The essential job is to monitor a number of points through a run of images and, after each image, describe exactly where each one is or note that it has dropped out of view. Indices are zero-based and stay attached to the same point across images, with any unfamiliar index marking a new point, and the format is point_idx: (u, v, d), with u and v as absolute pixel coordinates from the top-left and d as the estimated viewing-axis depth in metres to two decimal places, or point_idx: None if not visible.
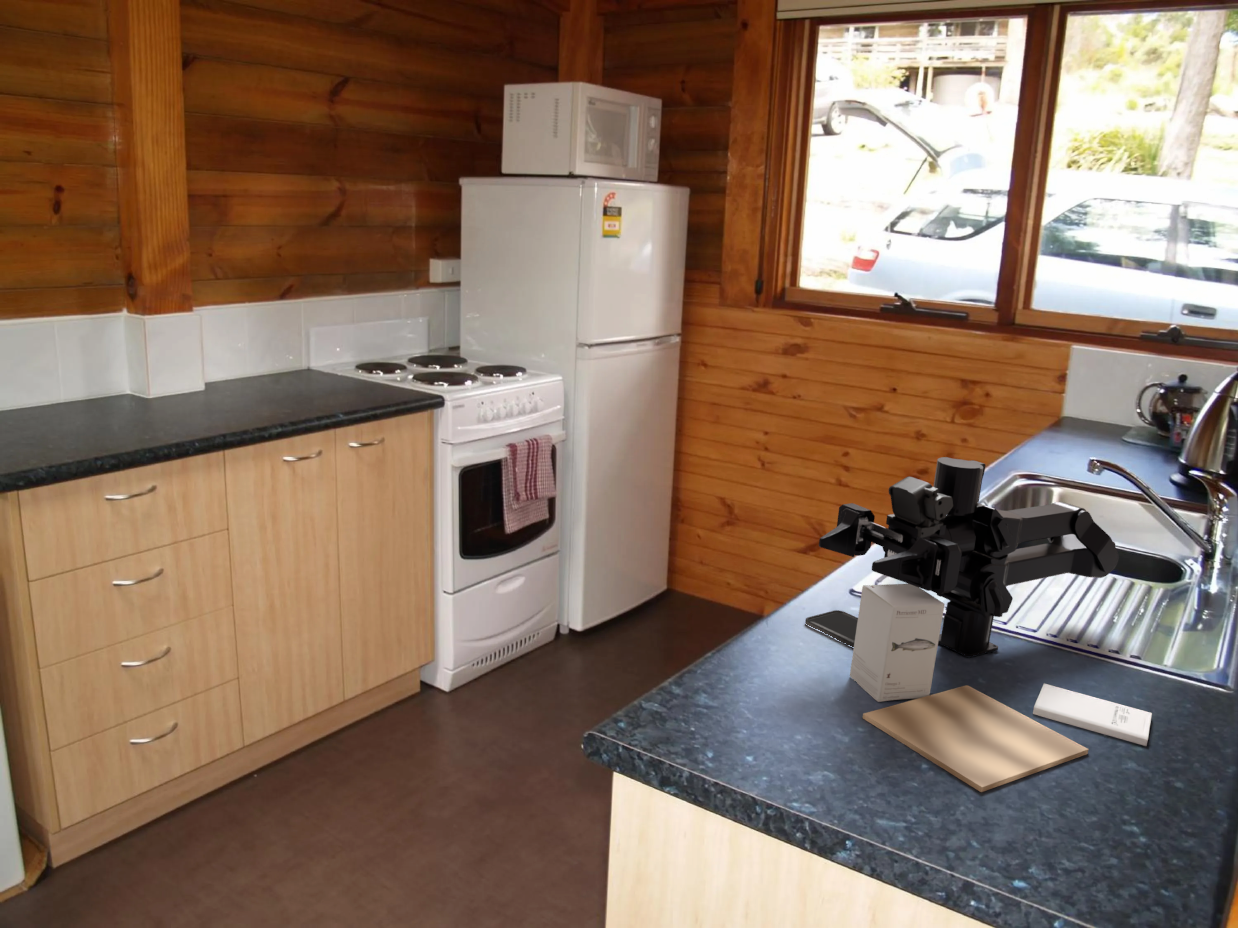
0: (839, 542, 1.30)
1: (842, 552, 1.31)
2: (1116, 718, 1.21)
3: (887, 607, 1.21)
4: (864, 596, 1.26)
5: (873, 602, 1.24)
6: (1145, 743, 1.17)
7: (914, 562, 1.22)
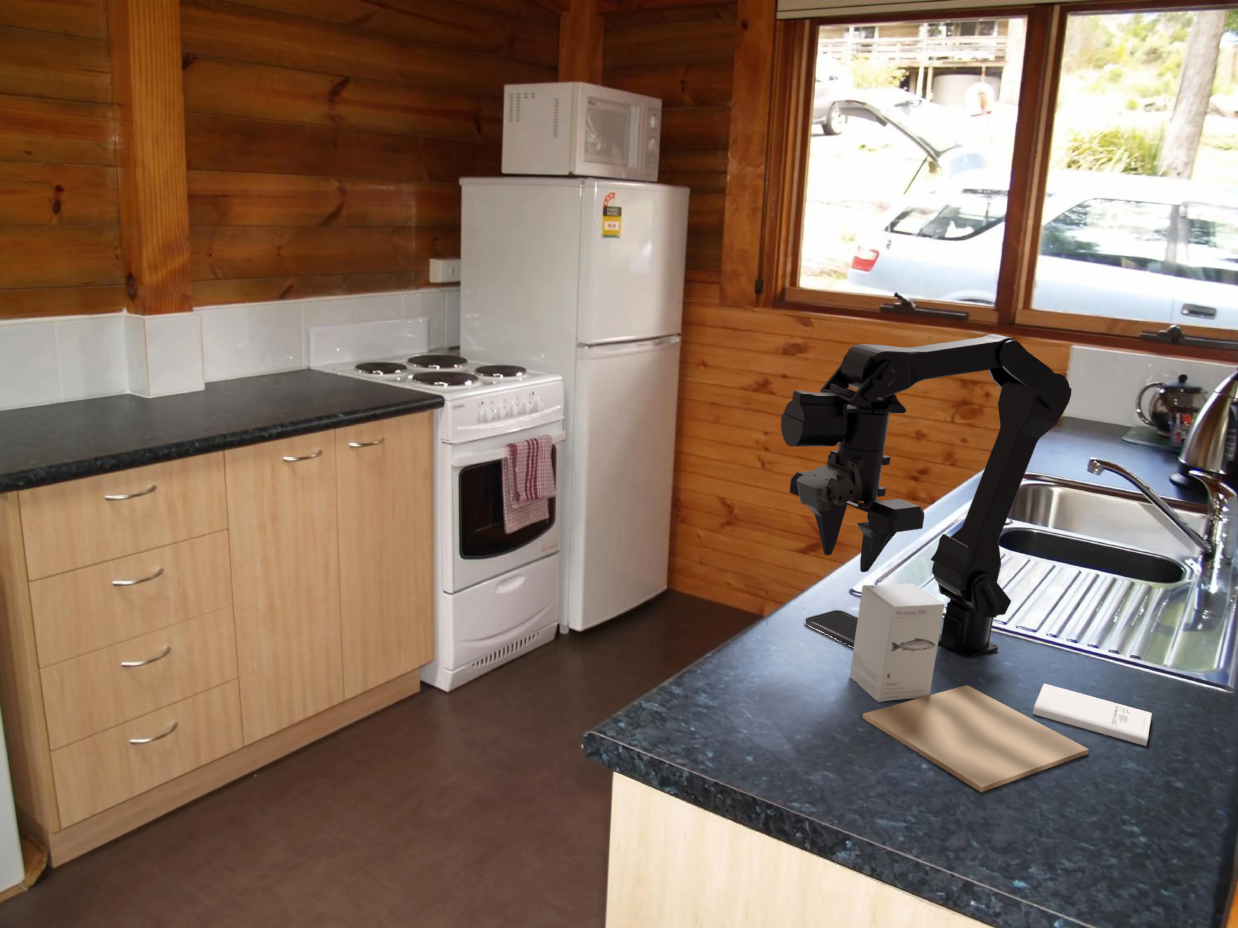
0: (833, 529, 1.34)
1: (841, 521, 1.35)
2: (1116, 718, 1.21)
3: (887, 607, 1.21)
4: (864, 596, 1.26)
5: (873, 602, 1.24)
6: (1145, 743, 1.17)
7: None
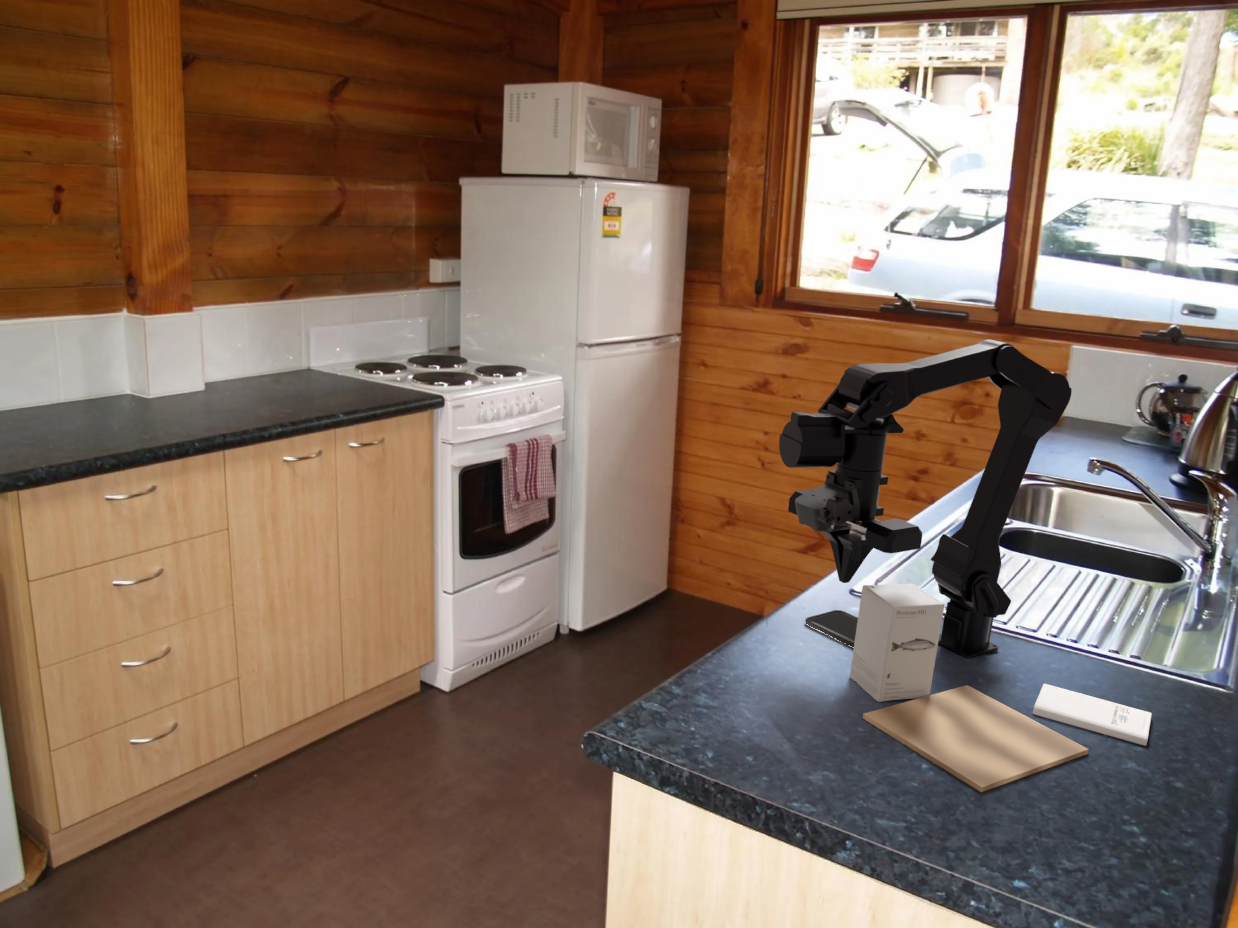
0: None
1: None
2: (1116, 718, 1.21)
3: (887, 607, 1.21)
4: (864, 596, 1.26)
5: (873, 602, 1.24)
6: (1145, 743, 1.17)
7: None
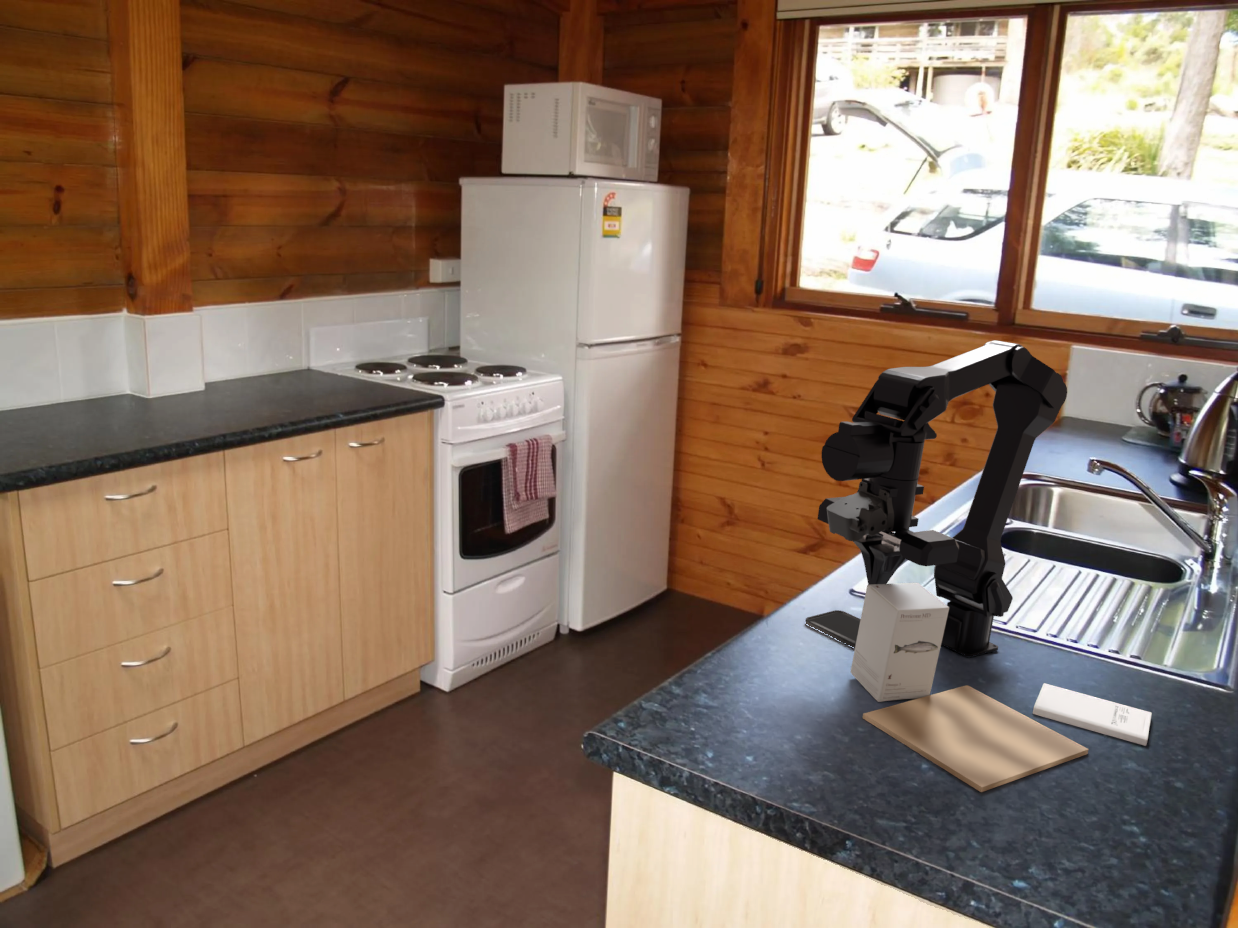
0: None
1: None
2: (1116, 718, 1.21)
3: (891, 609, 1.20)
4: (869, 595, 1.25)
5: (877, 603, 1.23)
6: (1145, 743, 1.17)
7: None
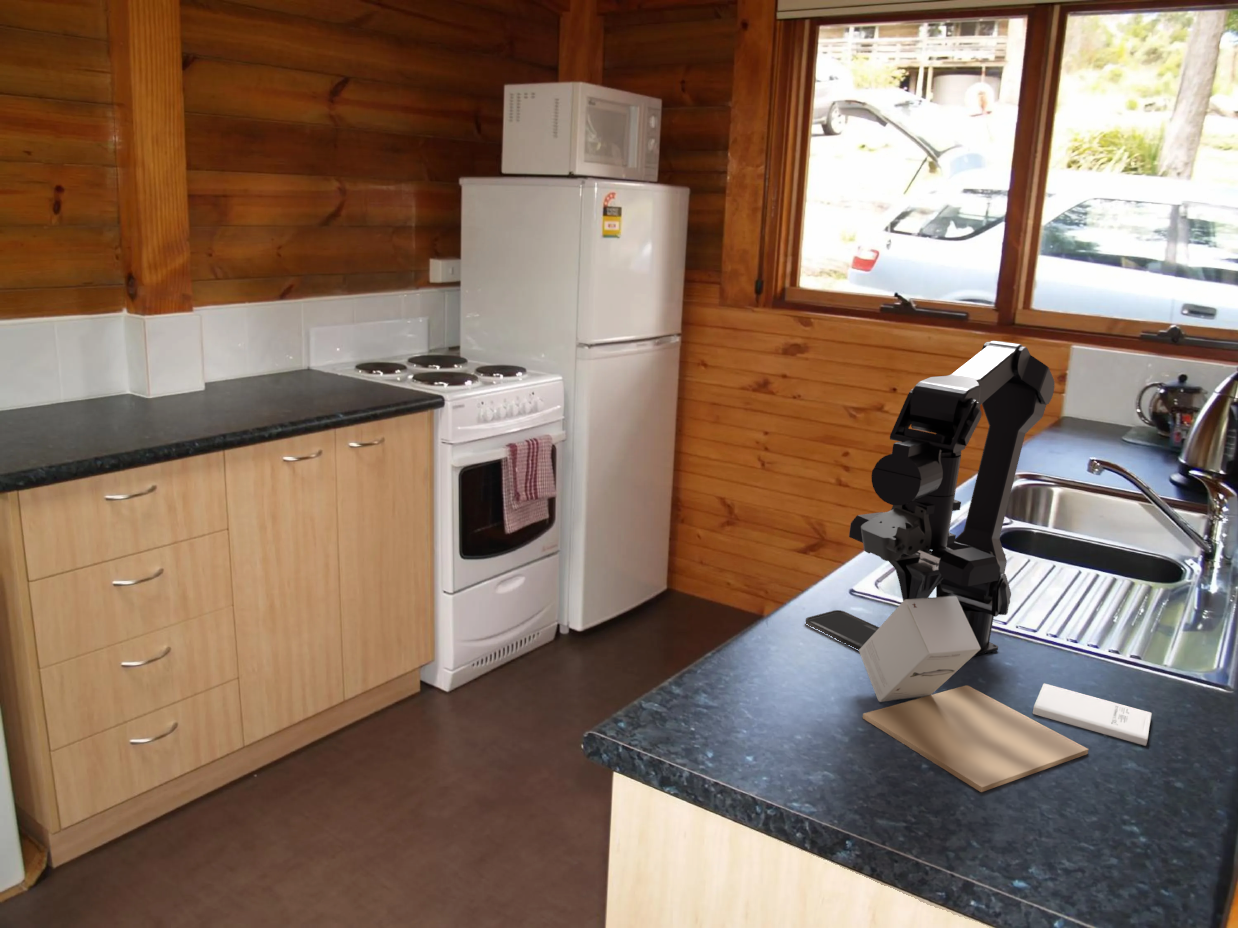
0: None
1: None
2: (1116, 718, 1.21)
3: (922, 646, 1.14)
4: (903, 610, 1.18)
5: (910, 627, 1.16)
6: (1145, 743, 1.17)
7: None
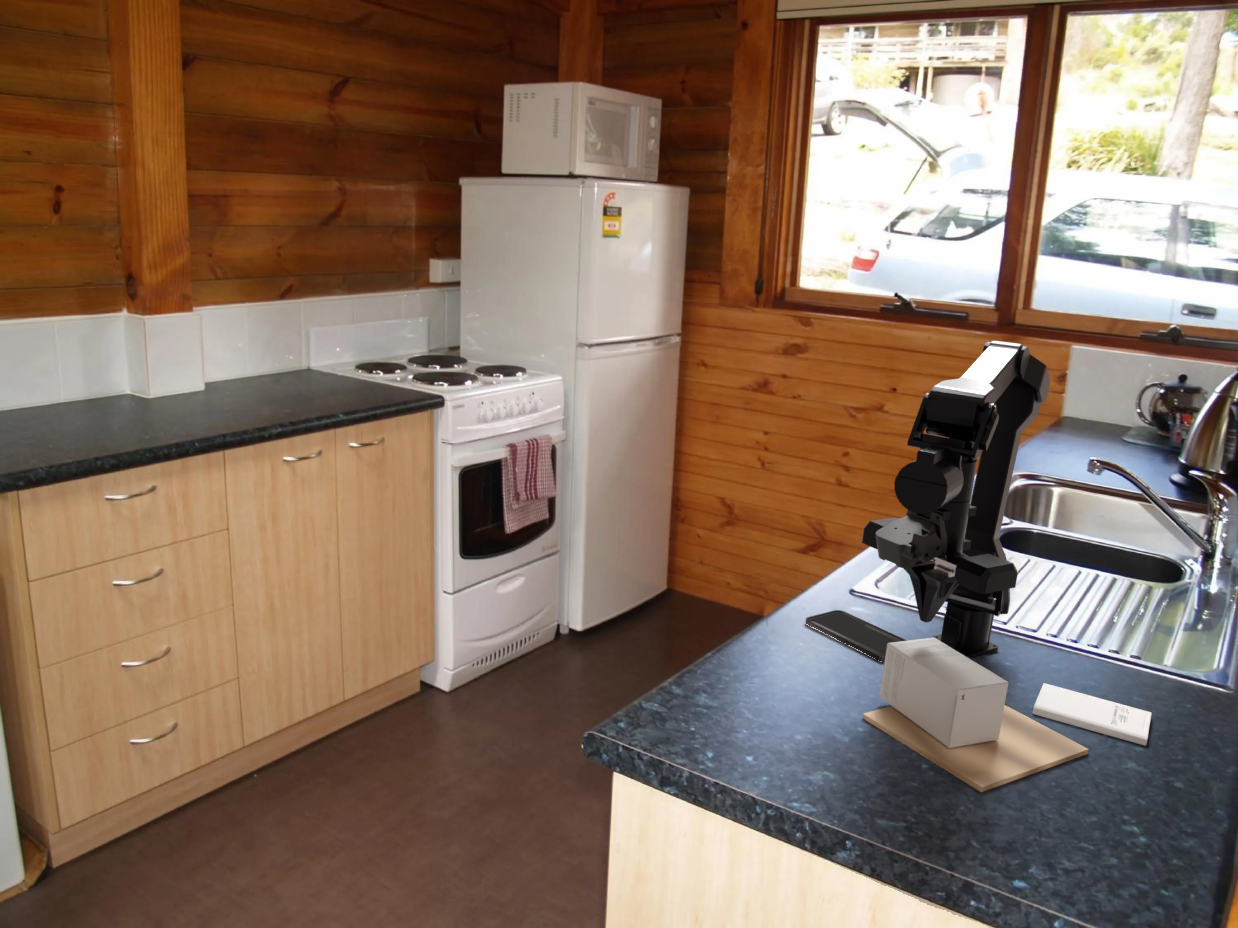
0: None
1: None
2: (1116, 718, 1.21)
3: (946, 735, 1.12)
4: (949, 692, 1.11)
5: (946, 710, 1.12)
6: (1145, 743, 1.17)
7: None
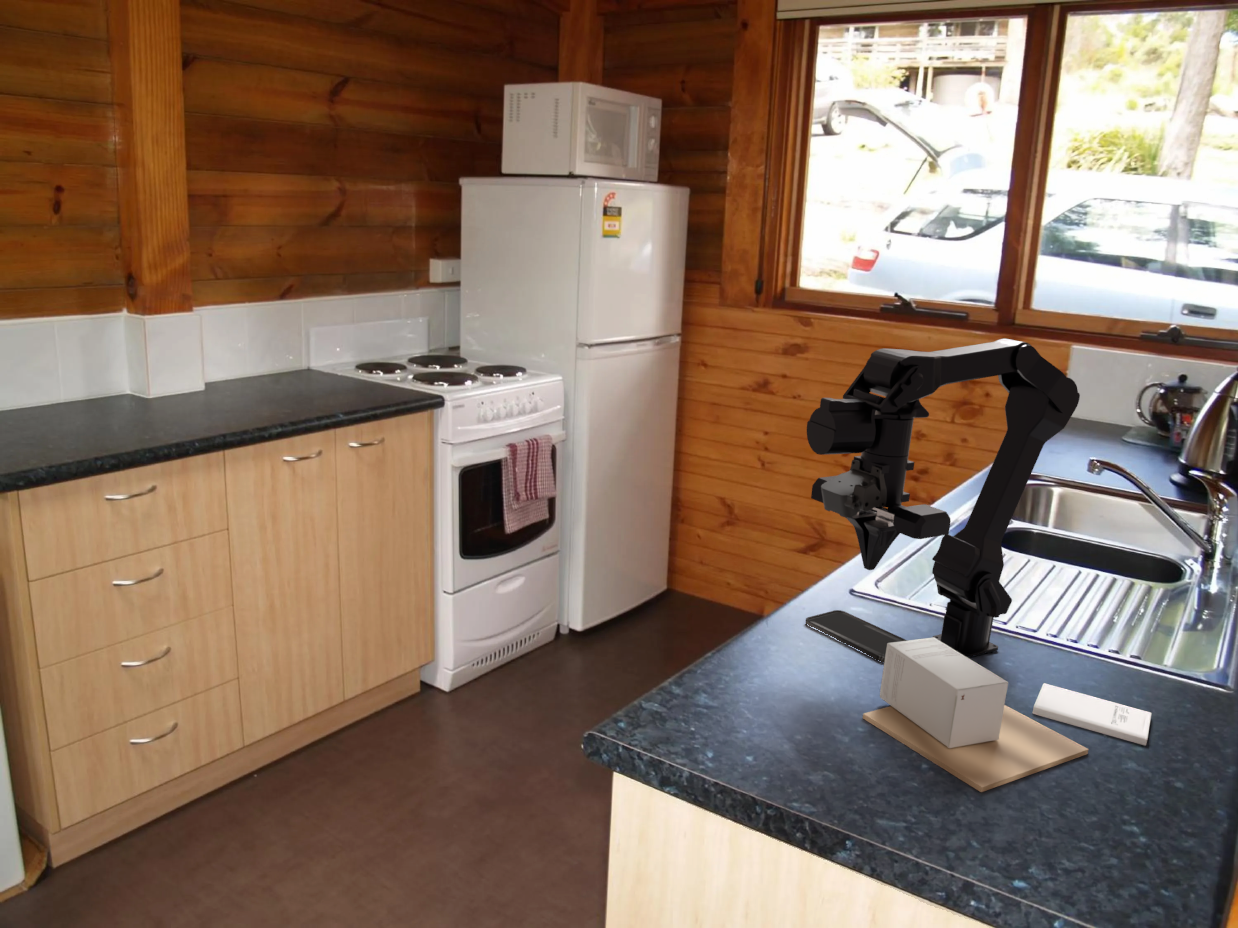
0: None
1: None
2: (1116, 717, 1.21)
3: (946, 735, 1.12)
4: (948, 692, 1.11)
5: (946, 710, 1.12)
6: (1145, 743, 1.17)
7: None
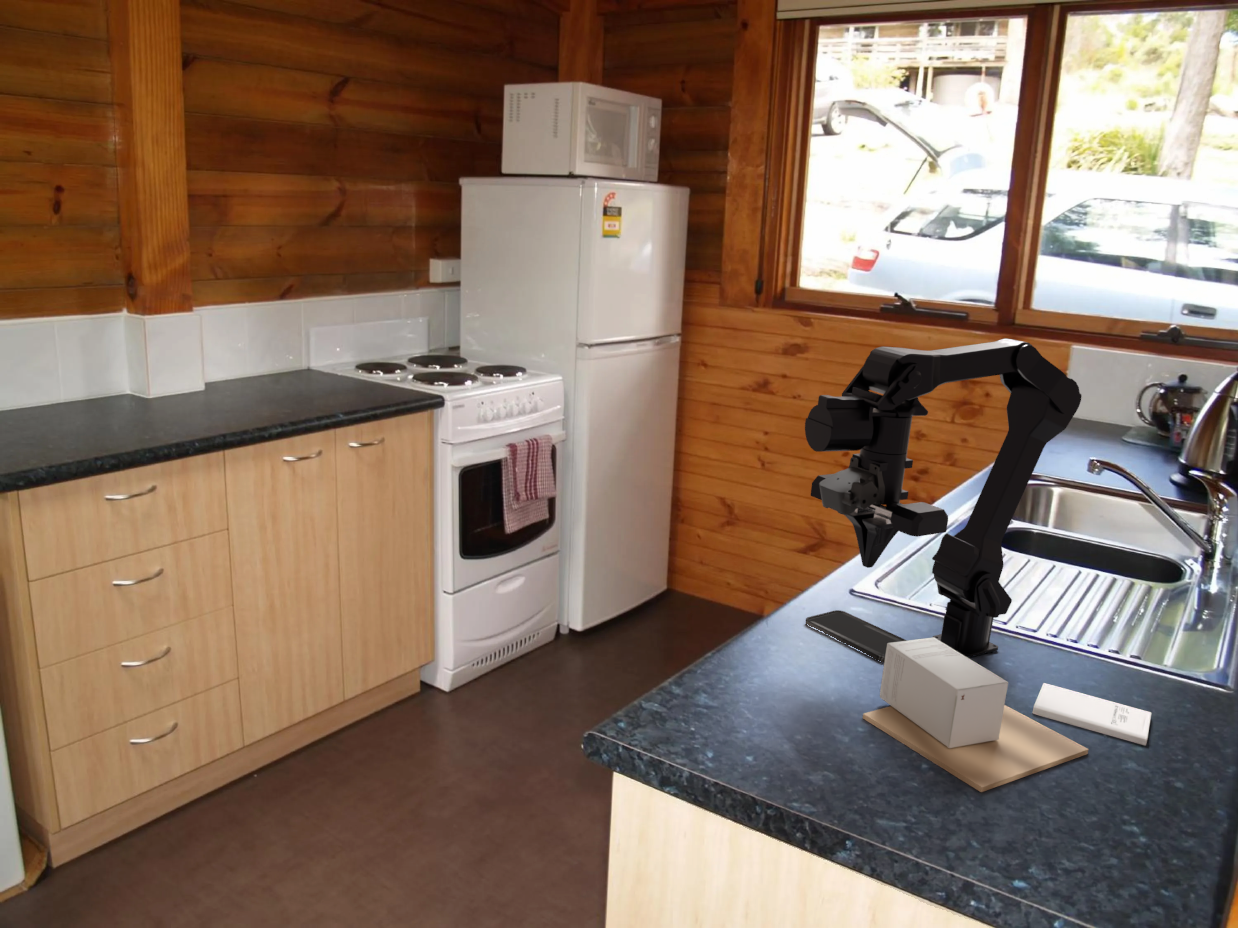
0: None
1: None
2: (1116, 717, 1.21)
3: (946, 735, 1.12)
4: (948, 692, 1.11)
5: (946, 710, 1.12)
6: (1144, 743, 1.17)
7: None
